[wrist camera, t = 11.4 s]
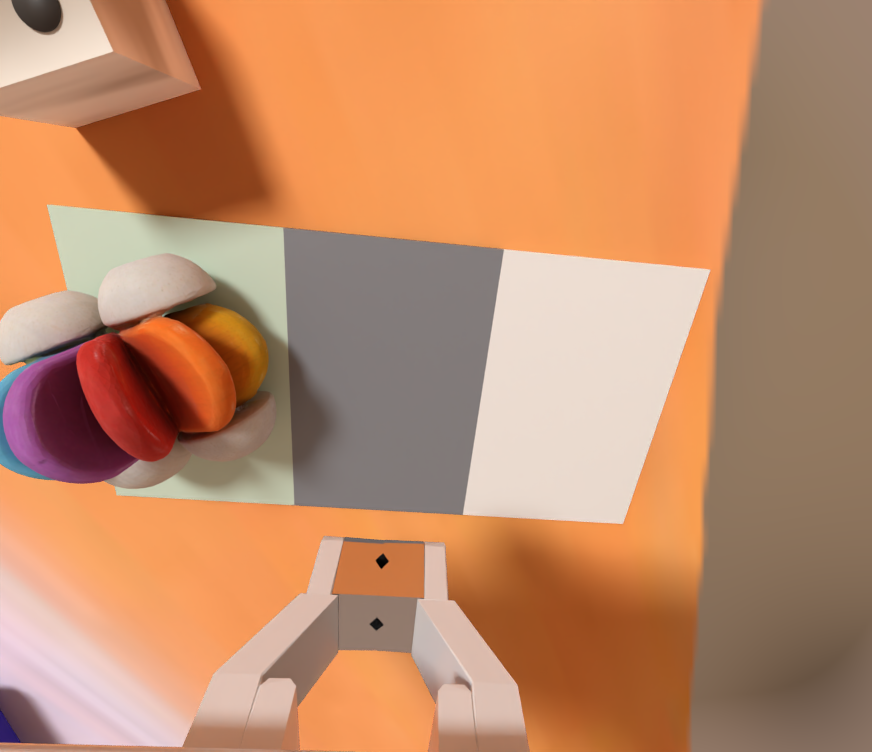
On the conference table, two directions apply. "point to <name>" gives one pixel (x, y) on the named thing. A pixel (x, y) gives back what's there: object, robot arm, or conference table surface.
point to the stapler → (7, 731)
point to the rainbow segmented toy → (131, 379)
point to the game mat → (422, 365)
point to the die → (88, 59)
